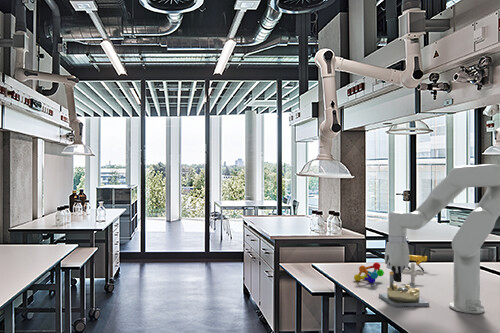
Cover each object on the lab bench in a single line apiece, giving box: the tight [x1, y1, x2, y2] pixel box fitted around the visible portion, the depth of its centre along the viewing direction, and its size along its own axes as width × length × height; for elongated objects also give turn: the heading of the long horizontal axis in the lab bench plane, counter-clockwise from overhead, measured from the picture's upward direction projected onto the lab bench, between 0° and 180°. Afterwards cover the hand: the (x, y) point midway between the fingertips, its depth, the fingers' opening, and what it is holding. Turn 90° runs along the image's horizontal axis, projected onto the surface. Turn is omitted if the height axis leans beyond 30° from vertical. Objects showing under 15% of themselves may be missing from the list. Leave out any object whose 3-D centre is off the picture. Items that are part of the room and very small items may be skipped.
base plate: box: [378, 293, 430, 308], centre depth 181 cm, size 15×15×2 cm
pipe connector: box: [401, 262, 425, 284], centre depth 215 cm, size 10×10×10 cm
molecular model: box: [353, 261, 385, 284], centre depth 215 cm, size 15×10×15 cm
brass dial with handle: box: [386, 270, 421, 302], centre depth 181 cm, size 13×13×10 cm
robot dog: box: [407, 246, 437, 272], centre depth 247 cm, size 6×18×13 cm, turn 73°
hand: (397, 281), depth 186 cm, fingers closed
